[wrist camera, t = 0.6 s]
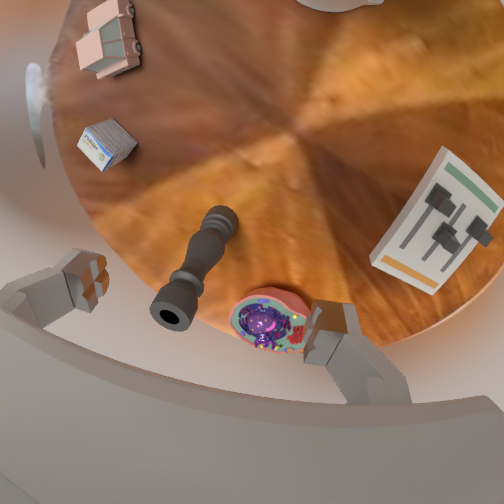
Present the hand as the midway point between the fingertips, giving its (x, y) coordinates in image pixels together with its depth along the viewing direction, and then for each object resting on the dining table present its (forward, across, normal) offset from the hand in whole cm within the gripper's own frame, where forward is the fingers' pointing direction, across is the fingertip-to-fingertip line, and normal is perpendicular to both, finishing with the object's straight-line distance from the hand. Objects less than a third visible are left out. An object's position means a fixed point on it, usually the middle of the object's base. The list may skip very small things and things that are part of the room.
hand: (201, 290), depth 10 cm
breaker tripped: (+34, -35, +7) cm, 49 cm away
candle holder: (+41, +6, +17) cm, 45 cm away
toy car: (+39, +29, -18) cm, 52 cm away
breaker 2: (+33, -42, +4) cm, 53 cm away
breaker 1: (+33, -30, +1) cm, 45 cm away
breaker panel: (+37, -35, +7) cm, 51 cm away
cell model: (+42, -8, +35) cm, 55 cm away
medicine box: (+41, +28, +2) cm, 50 cm away
